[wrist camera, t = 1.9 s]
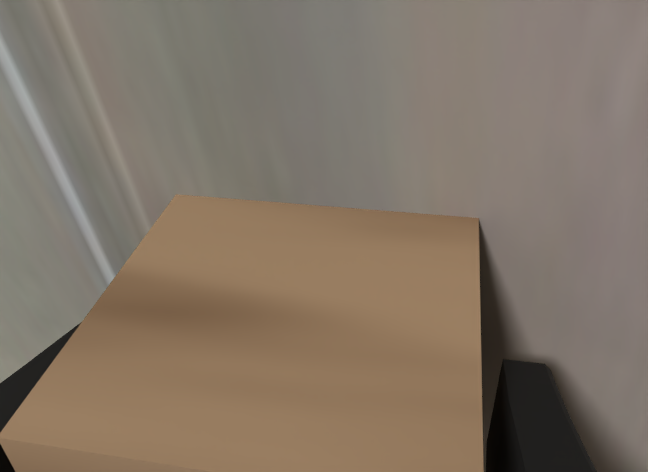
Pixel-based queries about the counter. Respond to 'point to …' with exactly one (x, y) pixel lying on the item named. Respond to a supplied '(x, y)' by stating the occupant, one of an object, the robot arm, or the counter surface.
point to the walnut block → (271, 349)
